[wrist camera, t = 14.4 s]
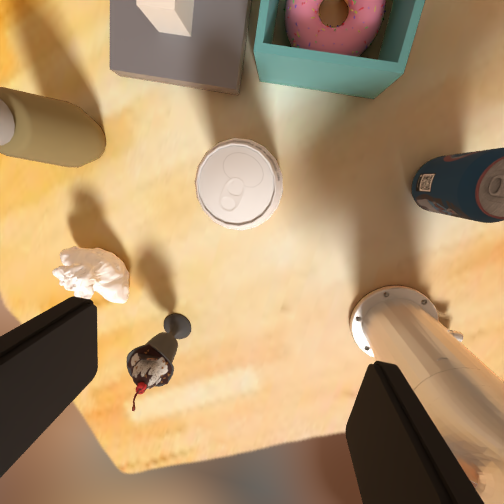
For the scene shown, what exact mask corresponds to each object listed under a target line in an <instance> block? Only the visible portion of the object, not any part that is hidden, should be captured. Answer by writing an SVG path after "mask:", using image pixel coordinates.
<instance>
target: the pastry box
mask: <svg viewBox="0 0 504 504" xmlns="http://www.w3.org/2000/svg"><path fill="white" fill-rule="evenodd" d="M278 3H279V0H261V2H260V9H259V16H258V23H257V30H256V37H255V44H254V56H255V61H256V66H257V70H258V75H259V80H260V81H261V82H267V83H274V84H280V85H287V86H293V87H300V88H306V89H313V90H319V91H325V92H332V93H338V94H345V95H351V96H358V97H364V98H371V99H374V98H376V97H377V96H378V95H379V94H380V93H382V92H383V91H384V90H385V89H386V88H387V87H389V86H390V85H391V84H392V83H393V82H394V81H396V80H397V79H398V78H399V77H400V76H401V75H403V74H404V70H405V67H406V64H407V60H408V57H409V53H410V50H411V47H412V43H413V40H414V37H415V33H416V30H417V26H418V23H419V20H420V16H421V13H422V9H423V6H424V3H425V0H393V4H392V8H391V12H390V15H389V19H388V23H387V27H386V30H385V34H384V38H383V42H382V45H381V49H380V53H379V57H378V60H376V59H369V58H362V57H356V56H349V55H342V54H335V53H328V52H321V51H315V50H308V49H301V48H294V47H287V46H280V45H274V44H272V41H273V35H274V28H275V22H276V16H277V10H278Z"/></svg>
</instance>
